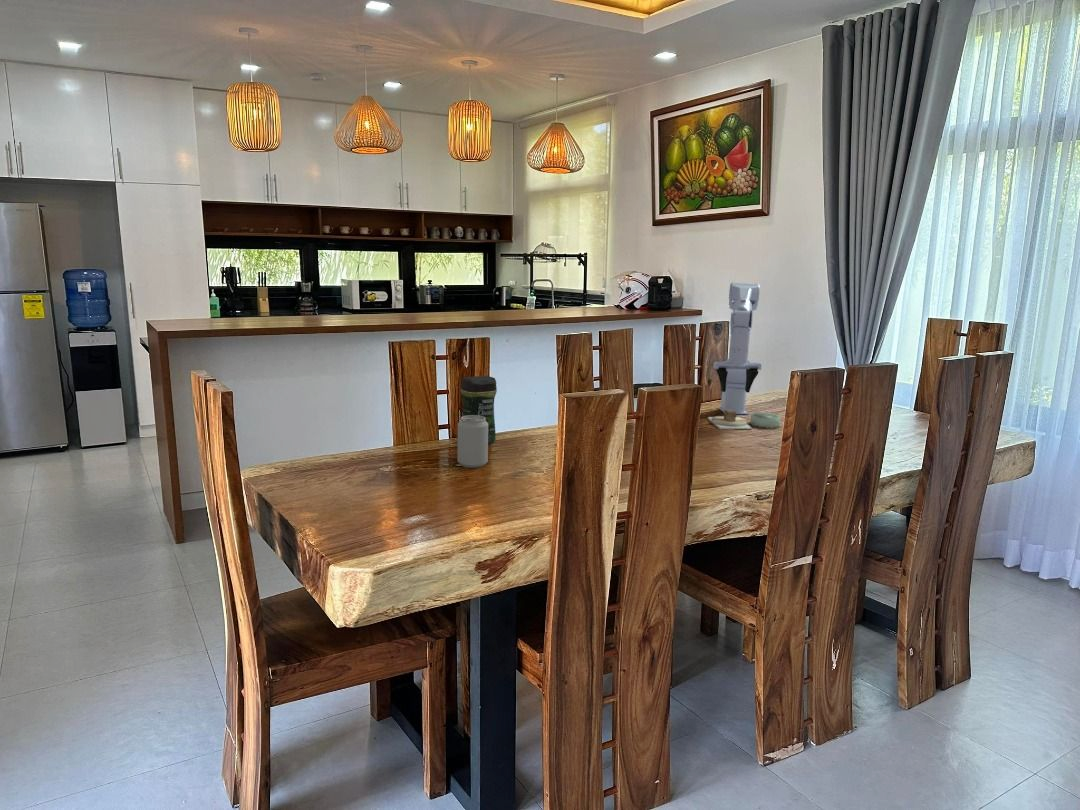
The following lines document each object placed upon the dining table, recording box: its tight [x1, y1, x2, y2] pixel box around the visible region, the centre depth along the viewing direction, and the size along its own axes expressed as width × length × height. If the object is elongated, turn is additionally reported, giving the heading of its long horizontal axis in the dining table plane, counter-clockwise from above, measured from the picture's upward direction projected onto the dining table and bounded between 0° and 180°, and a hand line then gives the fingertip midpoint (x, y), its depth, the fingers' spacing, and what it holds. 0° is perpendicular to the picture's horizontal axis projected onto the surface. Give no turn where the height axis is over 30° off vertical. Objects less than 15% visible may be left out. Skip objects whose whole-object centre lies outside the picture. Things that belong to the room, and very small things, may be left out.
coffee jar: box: [460, 375, 498, 445], centre depth 200 cm, size 10×8×19 cm
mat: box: [707, 416, 753, 430], centre depth 232 cm, size 14×10×1 cm
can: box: [457, 415, 489, 469], centre depth 181 cm, size 8×8×12 cm
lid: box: [711, 409, 748, 426], centre depth 232 cm, size 11×11×4 cm
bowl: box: [749, 412, 781, 428], centre depth 233 cm, size 9×9×3 cm
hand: (735, 391), depth 232 cm, fingers open, 7 cm apart
